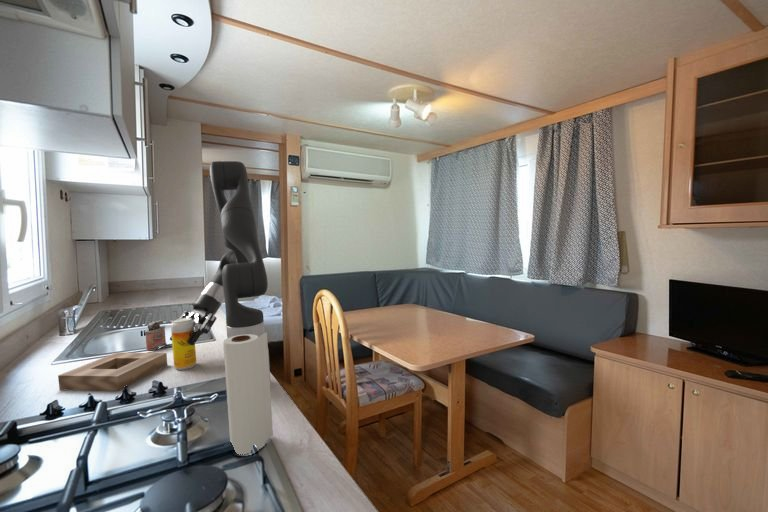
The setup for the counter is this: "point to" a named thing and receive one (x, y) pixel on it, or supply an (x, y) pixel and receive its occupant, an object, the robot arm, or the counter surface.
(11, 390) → the counter surface
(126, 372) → the socket block
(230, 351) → the paper towel roll
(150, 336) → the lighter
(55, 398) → the counter surface
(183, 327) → the yellow cylinder
